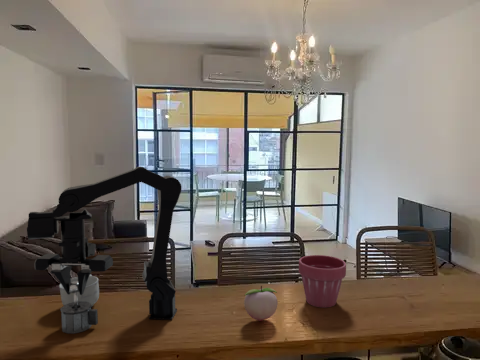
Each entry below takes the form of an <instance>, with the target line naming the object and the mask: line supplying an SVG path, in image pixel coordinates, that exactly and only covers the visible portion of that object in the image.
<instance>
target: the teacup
mask: <svg viewBox="0 0 480 360" xmlns="http://www.w3.org/2000/svg"><path fill="white" fill-rule="evenodd" d="M74 281H78V276H77V277H76V276H75V277H72V278H71V282H74ZM58 287H59V291H60V292H59V293H60V299H61V303H62V305H63V306H64V305H67V304H69V303H73V302H74V293H71V294H69V295H68V294H67V292H66V291H65V289H64V287H63V286H62V284H61V283H60V284H59V285H58ZM77 296H78V301H81V302H89V303H90V304H91V305H92V307H93V306H94V305H95V304H96V303H97V301H98V300H99V297H100V287H99V278H98V277H97V276H94V275H92V273H91V274H90V276H89V278H88V281H87V284H86V287H85V290H84V293H83V294H82V295H80V292H77Z"/></svg>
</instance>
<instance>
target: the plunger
mask: <svg viewBox="0 0 480 360" xmlns="http://www.w3.org/2000/svg"><path fill="white" fill-rule="evenodd" d="M69 292H71V293H74V308H72V309H77V308H80V307H78V296H77V292H79V285H78V281H74V282H71V283H69Z"/></svg>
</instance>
